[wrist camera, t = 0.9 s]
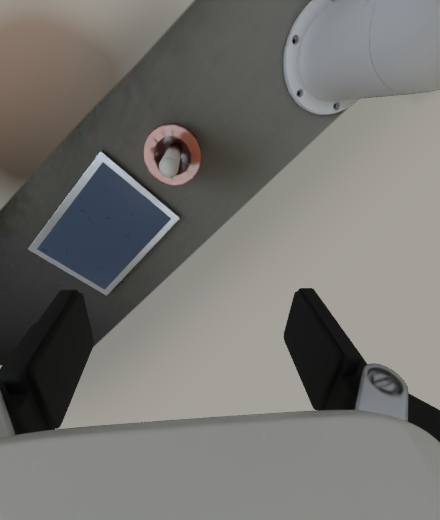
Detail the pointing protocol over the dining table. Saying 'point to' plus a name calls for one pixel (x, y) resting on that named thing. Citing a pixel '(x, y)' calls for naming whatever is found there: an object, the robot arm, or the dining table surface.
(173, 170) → the stylus
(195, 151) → the holder
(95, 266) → the tablet
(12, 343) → the dining table surface
